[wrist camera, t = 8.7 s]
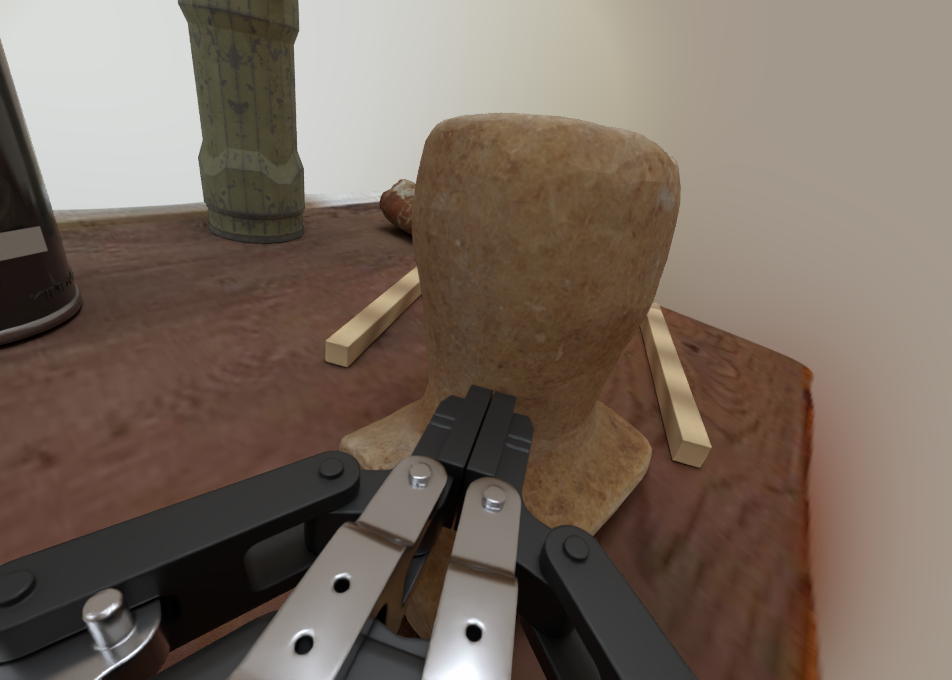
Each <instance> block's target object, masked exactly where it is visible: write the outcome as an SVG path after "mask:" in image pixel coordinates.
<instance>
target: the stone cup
mask: <svg viewBox="0 0 952 680" xmlns="http://www.w3.org/2000/svg"><path fill="white" fill-rule="evenodd" d="M679 205H680V177H679V168H678V164H677V161H676V160H675V159H674V158H673V157H671V156H669V155H668V154H667V153H666V152H664V150H663V149H662V148H661V147H660V146H659V145H658V144H656V143H655V142H653V141H652V140H650V139H648V138H647V137H645V136H643V135H641V134H638V133H636V132H632V131H628V130H624V129H620V128H613V127H606V126H602V125H599V124H595V123H591V122H587V121H583V120H579V119H572V118H566V117H559V116H546V115H531V114H518V113H489V114H476V115H464V116H458V117H454V118H451V119H447V120H444V121H442V122H440V123H439V124H437V125H436V127H435V128H434V129H433V130H432V132H431V133H430V135H429V136H428V138H427V139H426V141H425V146H424V149H423V154H422V157H421V161H420V166H419V170H418V175H417V181H416V186H415V192H414V199H413V209H412V236H413V248H414V253H415V258H416V263H417V269H418V275H419V281H420V287H421V294H422V300H423V308H424V316H425V325H426V336H427V346H428V357H429V380H428V385H427V387H426V390H425V393H424V396H423V398H421V399H419V400H417V401H415V402H413V403H411V404H409V405H407V406H405V407H403V408H401V409H400V410H398V411H396V412H394V413H393V414H391V415H389V416H387V417H385V418H383V419H381V420H379V421H376V422H374V423H372V424H370V425H368V426H366V427H363V428H361V429H359V430H357V431H355V432H353V433H350V434H348V435H346V436H344V437H343V439H342V441H341V443H340V448H339V451H341V452H345V453H348V454H350V455H352V456H353V457H354V458H356V460H357V461H358V462H359V464H360V469H364V470H387V469H392V468H394V467H395V466H396V464H397V463H398V462H399V461H401V460H402V459H404V458H406V457H409V456H411V454H412V453H413V451H414V449H415V447H416V445H417V443H418V442H419V440H420V438H421V436H422V434H423V433H424V431H425V429H426V427H427V425H428V424H429V422H430V420H431V418H432V416H433V415H434V413H435V411H436V409H437V407H438V405H439V403H440V402H441V401H443V400H444V399H446V398H447V397H449V396H450V395H454V396H458V397H461V398H465V397H466V395H467V393H468V390H469V388H470V386H471V384H473V385H477V386H481V387H484V388H488V389H491V390H494V392H493V395H494V393H495V391H499V392H502V393H506V394H509V395H513V396H516V397H517V400H516V404H515V408H514V413H518V414H521V415H525V416H528V417H530V419H531V422H532V425H533V428H534V433H533V438H532V442H531V448H530V453H529V458H528V463H527V469H526V474H525V479H524V484H523V489H522V497H523V501H524V503H525V506H526V507H527V509H528V510H529V512H530V513H531V514H532V515H533V516H534V517H535V518H536V519H538V520H539V521H541V522H542V523H544V524H545V525H547V526H548V527H550V528H552V529H553V528H554V527H557V526H560V525H572V526H576V527H579V528H581V529H583V530H585V531H587V532H588V533H589V534H591V535H592V536H594V535H595V533H596V532H597V531H598V530H599V529H600V528H601V527H602V526H603V525H604V524H605V523H606V522H607V521H608V519H609V518H610V517H611V516H612V515H613V514H614V513H615V512H616V511H617V509H618V508H619V507H620V505H621V504H622V503H623V501H624V500H625V499H626V498H627V497H628V495H629V494H630V493H631V492H632V491H633V489H634V488H635V487H636V486H637V485H638V483H639V482H640V481H641V480H642V478H643V476H644V475H645V473H646V471H647V469H648V466H649V462H650V459H651V452H652V448H651V446H650V444H649V443H648V441H647V439H646V438H645V437H644V436H643V435H642V434H641V433H640V432H639V431H638V430H637V429H635V428H634V427H633V426H632V425H631V424H629V423H628V422H627V421H626V420H624V419H623V418H622V417H621V416H620V415H618V414H617V413H616V412H614V411H613V410H611V409H610V408H609V407H607V406H606V405H604V404H602V403H601V402H600V401H598V400H597V399H598V397H599V394H600V392H601V390H602V388H603V386H604V384H605V382H606V380H607V378H608V377H609V375H610V373H611V371H612V369H613V367H614V365H615V363H616V361H617V359H618V357H619V356H620V354H621V353H622V351H623V350H624V349H625V347H626V346H627V344H628V343H629V342H630V340H631V339H632V337H633V336H634V335H635V333H636V332H637V330H638V328H639V327H640V325H641V324H642V322H643V321H644V319H645V318H646V316H647V314H648V312H649V310H650V308H651V305H652V303H653V300H654V297H655V295H656V291H657V288H658V285H659V281H660V278H661V275H662V273H663V270H664V267H665V264H666V261H667V258H668V254H669V250H670V246H671V242H672V238H673V234H674V230H675V226H676V221H677V216H678V212H679ZM492 398H493V397H492ZM457 512H458V511H457ZM456 516H457V514H456ZM455 521H456V517H455V520H454V523H453V526H452V529H448V528H445V527H443V528H442V530H441V533H440V536H439V538H438V541H437V543H436V545H435V546H434V551H433V554H432V556H431V558H430V560H429V562H428V565H427V567H426V569H425V571H424V573H423V575H422V577H421V579H420V582H419V584H418V586H417V588H416V590H415V592H414V594H413V597H412V599H411V601H410V603H409V605H408V607H407V609H406V611H405V615H406V617H407V620H408V622H409V624H410V625H411V626H412V628H413V629H414V630H415V631H416V632H417V634H418V635H419V636H420V637H421V638H422V639H431V635H432V631H433V627H434V623H435V619H436V615H437V610H438V606H439V602H440V598H441V594H442V590H443V586H444V581H445V577H446V573H447V569H448V565H449V561H450V558H451V554H452V550H453V546H454V542H455V538H456V533H457V531H455V530H454V526H455Z"/></svg>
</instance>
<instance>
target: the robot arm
mask: <svg viewBox="0 0 952 680" xmlns="http://www.w3.org/2000/svg"><path fill="white" fill-rule="evenodd" d="M81 305H82V299H81V295H80V292H79V289H78V286H77V285H76V284H75V283H74V277H73V273H72V269H71V267H70V266H69V263H68V260H67V256H66V253H65V250H64V247H63V243H62V239H61V236H60V233H59V229H58V226H57V223H56V219H55V216H54V213H53V210H52V207H51V203H50V200H49V197H48V193H47V190H46V187H45V183H44V180H43V177H42V174H41V170H40V167H39V164H38V161H37V157H36V154H35V151H34V147H33V144H32V141H31V138H30V134H29V131H28V128H27V125H26V121H25V118H24V115H23V112H22V108H21V105H20V102H19V99H18V95H17V92H16V89H15V85H14V82H13V79H12V75H11V72H10V69H9V66H8V62H7V59H6V56H5V53H4V49H3V46H2V43H1V39H0V345H2V344H6V343H10V342H14V341H17V340H21V339H24V338H27V337H30V336H33V335H36V334H39V333H42V332H44V331H46V330H49V329H51V328H53V327H55V326H57V325H59V324H61V323H63V322H65V321H66V320H68V319H69V318H71V317H72V316H73V315H74V314H75V313H76V312H77V311H78V310H79V309H80V307H81ZM493 392H494V390H491V389H488V388H484V387H481V386H477V385H473V384H471V386H470V388H469V390H468V393H467V395H466V397H465V398H461V397H458V396H454V395H450V396H449V397H447V398H446V399H444V400H443V401H441V402H440V403H439V405H438V407H437V409H436V411H435V413H434V415H433V416H432V418H431V420H430V422H429V424H428V425H427V427H426V429H425V431H424V433H423V434H422V436H421V438H420V440H419V442H418V443H417V445H416V447H415V449H414V451H413V453H412V454H411V456H409V457H406V458H404V459H402V460H401V461H399V462H398V463H397V464H396V466H395V467H394V468H392V469H387V470H364V469H360V464H359V462H358V461H357V460H356V458H354V457H353V456H352V455H350V454H348V453H345V452H341V451H328V452H324V453H320V454H317V455H314V456H311V457H309V458H306V459H303V460H300V461H297V462H294V463H291V464H288V465H286V466H283V467H280V468H277V469H274V470H271V471H268V472H265V473H263V474H260V475H257V476H254V477H251V478H248V479H245V480H242V481H240V482H237V483H234V484H231V485H228V486H225V487H222V488H219V489H217V490H214V491H211V492H208V493H205V494H202V495H199V496H196V497H193V498H191V499H188V500H185V501H182V502H179V503H176V504H173V505H170V506H168V507H165V508H162V509H159V510H156V511H153V512H150V513H147V514H145V515H142V516H139V517H136V518H133V519H130V520H127V521H124V522H122V523H119V524H116V525H113V526H110V527H107V528H104V529H101V530H98V531H96V532H93V533H90V534H87V535H84V536H81V537H78V538H75V539H73V540H70V541H67V542H64V543H61V544H58V545H55V546H52V547H50V548H47V549H44V550H41V551H38V552H35V553H32V554H29V555H27V556H24V557H21V558H18V559H15V560H13V561H10V562H7V563H5V564H3V565H1V566H0V680H511V670H512V657H513V645H514V633H515V621H516V612H517V613H518V614H519V619H520V623H521V626H522V628H523V630H524V633H525V635H526V637H527V639H528V641H529V643H530V645H531V647H532V649H533V651H534V653H535V655H536V658H537V660H538V662H539V664H540V666H541V668H542V670H543V672H544V674H545V676H546V678H547V680H697V678H696V677H695V675H694V674H693V673H692V671H691V670H690V668H689V667H688V666H687V664H686V663H685V662H684V660H683V659H682V657H681V656H680V655H679V653H678V652H677V650H676V649H675V648H674V646H673V645H672V644H671V642H670V641H669V639H668V638H667V637H666V635H665V634H664V632H663V631H662V630H661V628H660V627H659V626H658V624H657V623H656V621H655V620H654V619H653V617H652V616H651V614H650V613H649V612H648V610H647V609H646V608H645V606H644V605H643V603H642V602H641V601H640V599H639V598H638V596H637V595H636V594H635V592H634V591H633V590H632V588H631V587H630V585H629V584H628V583H627V581H626V580H625V578H624V577H623V576H622V574H621V573H620V572H619V570H618V569H617V567H616V566H615V565H614V563H613V562H612V560H611V559H610V558H609V556H608V555H607V553H606V552H605V551H604V549H603V548H602V547H601V545H600V544H599V542H598V541H597V540H596V539H595V538H594V537H593V536H592V535H591V534H589V533H588V532H587V531H585V530H583V529H581V528H579V527H576V526H572V525H560V526H557V527H554V528H553V529H552V528H550V527H548V526H547V525H545V524H544V523H542V522H541V521H539V520H538V519H536V518H535V517H534V516H533V515H532V514H531V513H530V512H529V510H528V509H527V507H526V506H525V503H524V501H523V497H522V489H523V484H524V479H525V474H526V469H527V463H528V458H529V453H530V448H531V442H532V438H533V433H534V428H533V425H532V422H531V419H530V417H528V416H525V415H521V414H518V413H514V408H515V404H516V400H517V397H516V396H513V395H509V394H506V393H502V392H499V391H495V393H494V395H493ZM492 397H493V398H492ZM457 511H458V512H457ZM456 514H457V516H456ZM455 517H456V521H455V526H454V530H455V531H457V533H456V538H455V542H454V546H453V550H452V554H451V558H450V561H449V565H448V569H447V573H446V577H445V581H444V586H443V590H442V594H441V598H440V602H439V606H438V610H437V615H436V619H435V623H434V627H433V631H432V635H431V639H421V638H406V637H402V636H399V635H398V634H397V633H398V630H399V626H400V624H401V621H402V618H403V616H404V614H405V611H406V609H407V607H408V605H409V603H410V601H411V599H412V597H413V594H414V592H415V590H416V588H417V586H418V584H419V582H420V579H421V577H422V575H423V573H424V571H425V569H426V567H427V565H428V562H429V560H430V558H431V556H432V554H433V551H434V546H435V545H436V543H437V541H438V538H439V536H440V533H441V530H442V528H443V527H445V528H448V529H452V526H453V523H454V520H455ZM293 588H295V589H294V590H293V591H292V593H291V594H290V596H289V597H288V598H287V600H286V601H285V602H284V604H283V605H282V606H281V608H280V609H279V610H277V611H274V612H270V613H268V614H265V615H263V616H261V617H258V618H256V619H254V620H252V621H250V622H248V623H247V624H245V625H243V626H241V627H240V628H238V629H236V630H234V631H233V632H231V633H229V634H227V635H225V636H224V637H222V638H220V639H218V640H217V641H215V642H213V643H211V644H210V645H208V646H206V647H204V648H202V649H201V650H199V651H197V652H195V653H194V654H192V655H190V656H188V657H187V658H185V659H183V660H181V661H180V662H178V663H176V664H174V665H172V666H171V667H169V668H167V669H165V670H164V671H162V672H160V673H158V674H157V672H158V671H159V670H160V669H161V667H162V665H163V664H164V662H165V660H166V658H167V656H168V653H169V652H171V651H173V650H175V649H177V648H179V647H181V646H182V645H184V644H186V643H188V642H190V641H192V640H194V639H196V638H198V637H200V636H202V635H204V634H206V633H208V632H210V631H211V630H213V629H215V628H217V627H219V626H221V625H223V624H225V623H227V622H229V621H231V620H233V619H235V618H237V617H239V616H240V615H242V614H244V613H246V612H248V611H250V610H252V609H254V608H256V607H258V606H260V605H262V604H264V603H266V602H268V601H269V600H271V599H273V598H275V597H277V596H279V595H281V594H283V593H285V592H287V591H289V590H291V589H293ZM156 674H157V675H156Z"/></svg>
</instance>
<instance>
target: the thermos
mask: <svg viewBox="0 0 952 680" xmlns="http://www.w3.org/2000/svg"><path fill="white" fill-rule="evenodd" d="M178 4H179V6H180V8H181V10H182V12H183V14H184V16H185V18H186V20H187V22H188V27H189V35H190V43H191V51H192V59H193V66H194V75H195V81H196V90H197V97H198V104H199V105H198V106H199V113H200V121H201V129H202V137H203V142H202V145H201V149H200V153H199V157H198V160H199V167H200V175H201V181H202V189H203V196H204V202H205V203H206V206H207V207H208V212H209V220H210V221H209V227H210V230H211V231H212V232H213V233H214V234H216V235H218V236H220V237H223V238H227V239H231V240H235V241H242V242H250V243H276V242H285V241H290V240H294V239H296V238H299V237H301V236H302V235H303V234H304V227H303V216H302V213H303V210H304V209H305V200H304V168H303V165H302V162H301V160H300V157H299V154H298V152H297V131H296V102H295V74H294V73H295V72H294V71H295V70H294V43H295V40H296V37H297V35H298V32H299V11H298V10H299V9H298V0H178Z"/></svg>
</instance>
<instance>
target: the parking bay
mask: <svg viewBox="0 0 952 680" xmlns="http://www.w3.org/2000/svg"><path fill="white" fill-rule="evenodd" d="M420 295H421V287H420V281H419V275H418V269H417V266H416V267H415V268H414V269H413V270H412V271H410V272H409V273H408V274H407V275H405V276H404V277H403V278H402V279H400V280H399V281H398V282H397V283H396V284H394V285H393V286H392V287H391V288H389V289H388V290H387V291H386V292H384V293H383V294H382V295H381V296H380V297H378V298H377V299H376V300H375V301H373V302H372V303H371V304H370V305H368V306H367V307H366V308H365V309H364V310H362V311H361V312H360V313H359V314H357V315H356V316H355V317H354V318H353V319H351V320H350V321H349V322H348V323H346V324H345V325H344V326H343V327H341V328H340V329H339V330H338V331H337V332H335V333H334V334H333V335H332V336H330V337H329V338H328V339H327V340H326V341H325V360H326V362H330V363H333V364H337V365H340V366H344V367H349V366H350V365H351V364H352V363H353V362H354V361H355V360H356V359H357V358H358V357H359V356H360V355H361V354H362V353H363V352H364V351H365V350H366V349H367V348H368V347H369V346H370V345H371V344H372V343H373V342H374V341H375V340H376V339H377V338H378V337H379V336H380V335H381V334H382V333H383V332H384V331H385V330H386V329H387V328H388V327H389V326H390V325H391V324H392V323H393V322H394V321H395V320H396V319H397V318H398V317H399V316H400V315H401V314H402V313H403V312H404V311H405V310H406V309H407V308H408V307H409V306H410V305H411V304H412V303H413V302H414V301H415V300H416V299H417V298H418V297H419V296H420ZM640 327H641V331H642V335H643V339H644V343H645V348H646V352H647V356H648V360H649V364H650V369H651V373H652V377H653V381H654V385H655V389H656V394H657V398H658V402H659V406H660V410H661V415H662V419H663V423H664V427H665V431H666V435H667V440H668V444H669V448H670V452H671V456H672V460H673V461H677V462H681V463H684V464H688V465H691V466H695V467H698V468H701V466H702V464H703V463H704V461H705V459H706V457H707V456H708V454H709V452H710V450H711V449H712V446H711V444H710V441H709V438H708V436H707V433H706V430H705V428H704V425H703V422H702V419H701V417H700V414H699V411H698V409H697V406H696V403H695V401H694V398H693V395H692V392H691V390H690V387H689V384H688V382H687V379H686V376H685V374H684V371H683V368H682V365H681V363H680V360H679V357H678V355H677V352H676V349H675V347H674V344H673V341H672V338H671V336H670V333H669V330H668V328H667V325H666V322H665V320H664V317H663V314H662V311H661V309H660V306H659V304H657V303H652V305H651V308H650V310H649V312H648V314H647V316H646V318H645V319H644V321H643V322H642V324H641V325H640Z"/></svg>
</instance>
